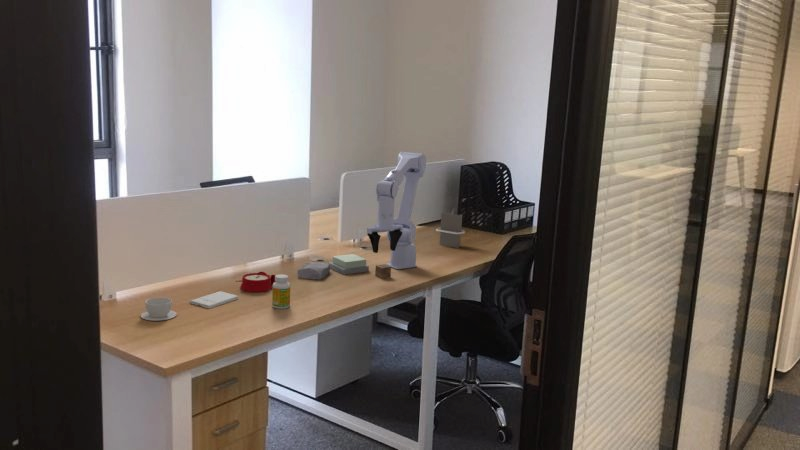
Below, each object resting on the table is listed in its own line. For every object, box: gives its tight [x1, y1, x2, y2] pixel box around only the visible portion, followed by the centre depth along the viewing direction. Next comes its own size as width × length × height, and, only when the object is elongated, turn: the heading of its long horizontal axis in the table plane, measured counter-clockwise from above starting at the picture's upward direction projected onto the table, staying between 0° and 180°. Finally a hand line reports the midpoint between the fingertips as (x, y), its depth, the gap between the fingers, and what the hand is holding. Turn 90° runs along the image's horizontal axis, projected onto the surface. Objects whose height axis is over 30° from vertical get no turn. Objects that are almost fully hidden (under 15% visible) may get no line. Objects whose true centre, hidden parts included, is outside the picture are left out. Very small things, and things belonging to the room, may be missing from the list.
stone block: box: [297, 261, 331, 281], centre depth 262 cm, size 12×5×10 cm
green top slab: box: [332, 253, 367, 269], centre depth 271 cm, size 9×9×2 cm
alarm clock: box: [235, 271, 277, 293], centre depth 243 cm, size 10×6×15 cm
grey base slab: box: [327, 261, 370, 275], centre depth 271 cm, size 11×11×2 cm
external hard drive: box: [189, 290, 239, 309], centre depth 227 cm, size 2×8×12 cm
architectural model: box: [435, 212, 466, 249], centre depth 316 cm, size 20×25×15 cm
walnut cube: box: [374, 263, 392, 279], centre depth 263 cm, size 4×4×4 cm
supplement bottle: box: [271, 273, 291, 310], centre depth 224 cm, size 5×5×10 cm
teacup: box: [140, 296, 178, 322], centre depth 210 cm, size 10×10×5 cm
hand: (384, 251), depth 262 cm, fingers open, 7 cm apart
